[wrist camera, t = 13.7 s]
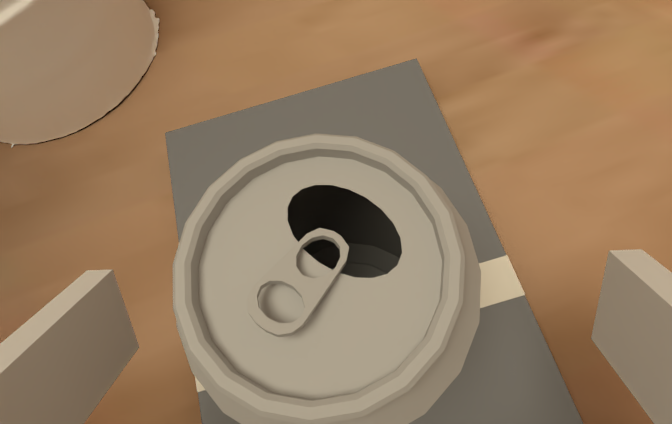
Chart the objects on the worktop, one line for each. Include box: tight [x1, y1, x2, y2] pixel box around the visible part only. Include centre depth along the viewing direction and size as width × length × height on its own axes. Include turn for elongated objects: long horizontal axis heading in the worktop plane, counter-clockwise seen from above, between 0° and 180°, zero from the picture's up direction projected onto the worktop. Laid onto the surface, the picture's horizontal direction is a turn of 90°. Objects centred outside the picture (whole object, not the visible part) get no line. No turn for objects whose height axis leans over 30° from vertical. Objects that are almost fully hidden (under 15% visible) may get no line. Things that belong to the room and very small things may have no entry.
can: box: [173, 134, 481, 424], centre depth 14 cm, size 8×8×12 cm
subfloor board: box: [165, 58, 583, 424], centre depth 21 cm, size 24×16×2 cm, turn 16°
